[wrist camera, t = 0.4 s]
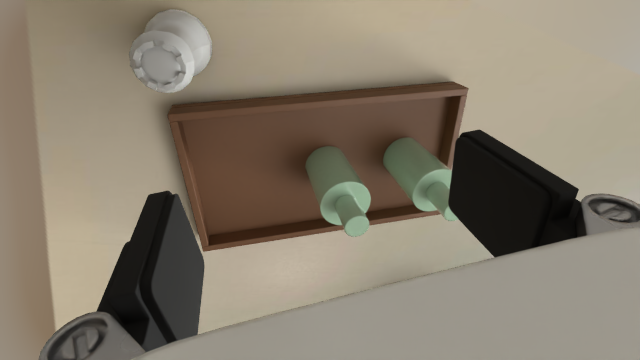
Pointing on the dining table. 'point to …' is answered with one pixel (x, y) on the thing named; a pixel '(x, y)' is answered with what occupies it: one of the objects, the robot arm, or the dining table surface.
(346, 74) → the dining table surface
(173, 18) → the rook chess piece
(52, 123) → the dining table surface
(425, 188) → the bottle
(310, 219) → the tray
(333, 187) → the bottle mid
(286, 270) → the dining table surface
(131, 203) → the dining table surface
